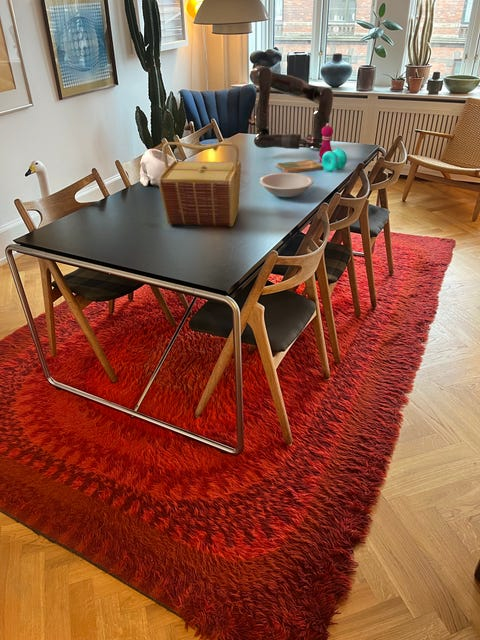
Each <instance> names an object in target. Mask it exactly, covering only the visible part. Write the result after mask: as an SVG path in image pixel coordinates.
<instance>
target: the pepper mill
mask: <svg viewBox="0 0 480 640" xmlns="http://www.w3.org/2000/svg"><path fill="white" fill-rule="evenodd" d="M333 134H334V129H333V127H332V126H331V124H330V122H329V123H327V124H326V126H325V127H324V128H323V129H322V135H323V136H322V139H323V144H322V147H321V149H320V150H318V151H319V152H318V156H319V160H318V161H319V164H322V157H323V155H324V154H325V153H326V152H328V151H332V152H333V149H332V146H331V145H332V144H331V140H332V139H333V137H332V135H333ZM330 163H331V160H330Z"/></svg>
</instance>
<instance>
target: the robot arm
mask: <svg viewBox="0 0 480 640" xmlns="http://www.w3.org/2000/svg"><path fill="white" fill-rule="evenodd" d="M248 77H249V80H250V82H251V83H252V84H253V85H255V86H257V87H258V99H257V104H256V107H255V112H254V123H255V124H254V125H255V128H256V135H255V137H254V139H253V144H254V145H255V146H256V147H257V148H259V149H270V148H278V149H281V148H282V149H291V150H299V149H300V148H305V149H310V148H311V150H314V151H320V149H321V147H322V144H323V139H322V136H323V135H322V129H323V128H324V127H325V126H326V124H327V123H329V124H330V116H331V114H332V110H333V102H334V92H333V90H332V88H330V87H327V86H320V85H313V84H309V83H307V82H306V81H305V80H303V79H301V78H298V77H297V76H293V75H289V74H284V73H278V72H277V73H276V72H273V71H272V69H271V68H269V67H268V66H263V65H256V66H254V67H252V68H251V70H250V71H249V75H248ZM272 89H273V90H275V91H277V92H280V93H282V94H285V95H287V96H290V97H294V98H301V99H306V100H308V101H310V102H312V103H314V104H317V105H318V107H317V108H318V109H317V110H316V111H314V112H313V117H312V118H313V120H312V135H311V134H310V133H309V134H307V135H306V136H304V137H302V138H301V134H300V133H274V134H270V130H269V104H270V97H271V90H272Z"/></svg>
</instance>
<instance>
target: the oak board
mask: <svg viewBox="0 0 480 640" xmlns="http://www.w3.org/2000/svg"><path fill="white" fill-rule="evenodd" d="M277 168H278V169H280V170H282V171H283V173H305V172H315V171H320V170H321V171H322V170H324V168H323V166H322V164H321V163H318V162H316V161H315V160H313V159H309V160H308V159H307V160H299V161H286V162H277Z"/></svg>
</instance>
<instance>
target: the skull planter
mask: <svg viewBox="0 0 480 640" xmlns="http://www.w3.org/2000/svg"><path fill="white" fill-rule="evenodd" d="M166 155H167V160H168V166H169V165H170V164H171V163H172V162H173V161H176V162H177V160H176V159H175V158H174V157H173V156H171V155H170V154H168V153H166ZM139 164H140V171H139V175H140V179H139V182H140V184H142V185H143V186H144V187H147V186H148V185H149V182H150V185H152V186H153V185H154V186H155V185H156V186H157V187H159V183H158V180H159V176H160V175H161V174H162V173H163V172H164V170H165V169H166V168H165V162H164V157H163V152H162V150H159V149H156V148H149V149H147V150H146V151H145V152H144V153H143V155H142V156H141V159H140V163H139Z"/></svg>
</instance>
